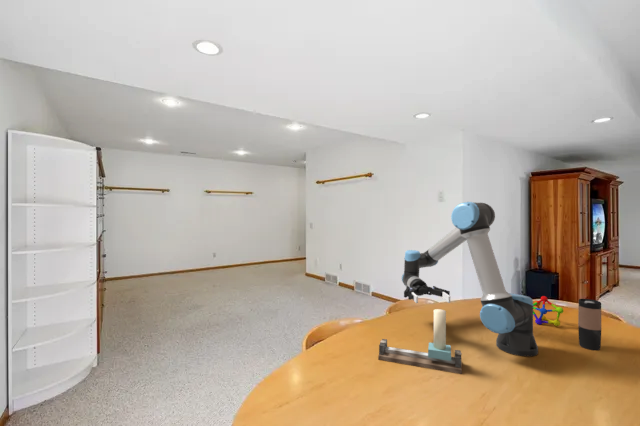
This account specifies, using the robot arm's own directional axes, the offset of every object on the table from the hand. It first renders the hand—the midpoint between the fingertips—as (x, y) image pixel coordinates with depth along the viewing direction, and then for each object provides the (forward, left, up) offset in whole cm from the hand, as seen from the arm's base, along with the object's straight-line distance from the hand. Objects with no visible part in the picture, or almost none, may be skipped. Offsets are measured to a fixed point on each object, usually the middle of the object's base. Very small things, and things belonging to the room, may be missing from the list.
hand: (433, 299), depth 132 cm
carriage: (-3, +11, -18) cm, 21 cm away
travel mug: (-63, -30, -22) cm, 73 cm away
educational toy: (-53, -56, -22) cm, 80 cm away
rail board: (+5, +11, -22) cm, 25 cm away
